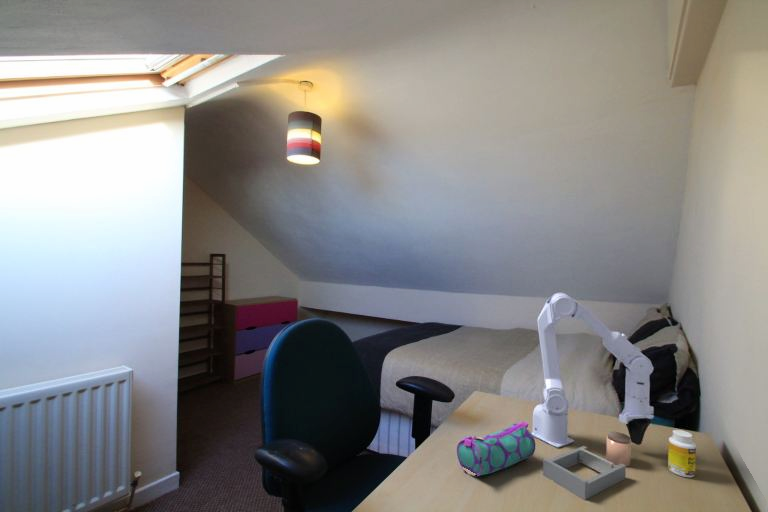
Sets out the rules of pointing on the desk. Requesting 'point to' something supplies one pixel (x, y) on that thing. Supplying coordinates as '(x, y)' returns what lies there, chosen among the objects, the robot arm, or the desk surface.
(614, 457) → the jar
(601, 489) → the grey rectangular frame
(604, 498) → the desk surface
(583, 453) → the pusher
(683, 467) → the supplement bottle
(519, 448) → the pencil case
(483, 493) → the desk surface
